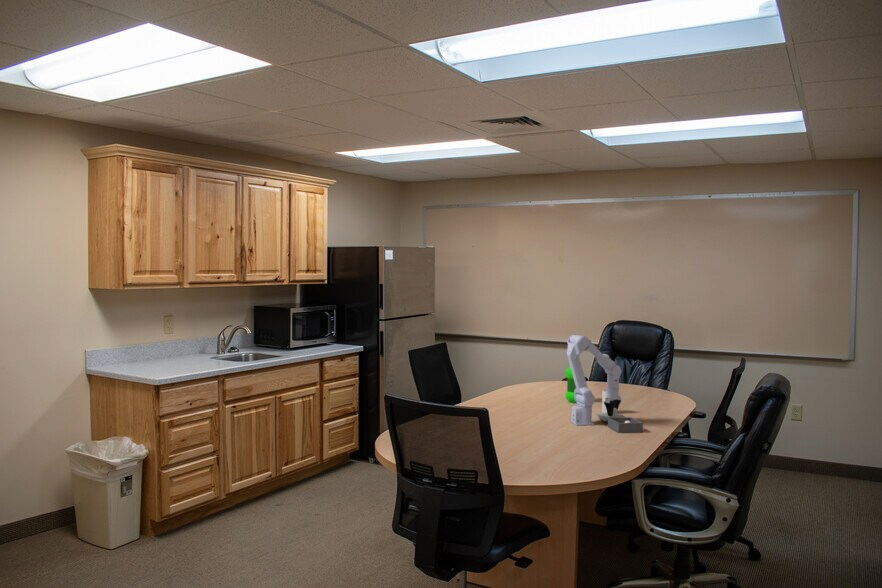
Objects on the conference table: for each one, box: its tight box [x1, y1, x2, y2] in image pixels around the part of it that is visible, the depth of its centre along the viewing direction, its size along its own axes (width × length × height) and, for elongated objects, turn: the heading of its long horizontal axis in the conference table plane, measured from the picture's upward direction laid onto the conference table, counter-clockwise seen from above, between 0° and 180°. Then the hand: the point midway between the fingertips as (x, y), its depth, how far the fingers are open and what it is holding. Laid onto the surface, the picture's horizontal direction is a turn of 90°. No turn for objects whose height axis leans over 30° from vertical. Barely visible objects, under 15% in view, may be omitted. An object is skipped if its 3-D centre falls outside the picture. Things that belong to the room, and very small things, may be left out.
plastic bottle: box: [564, 365, 585, 404], centre depth 374 cm, size 10×10×25 cm
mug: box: [601, 388, 622, 414], centre depth 347 cm, size 10×7×12 cm, turn 78°
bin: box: [607, 416, 644, 434], centre depth 310 cm, size 12×12×4 cm
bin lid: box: [595, 408, 626, 422], centre depth 327 cm, size 13×13×5 cm
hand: (612, 414), depth 327 cm, fingers closed on bin lid, 5 cm apart
